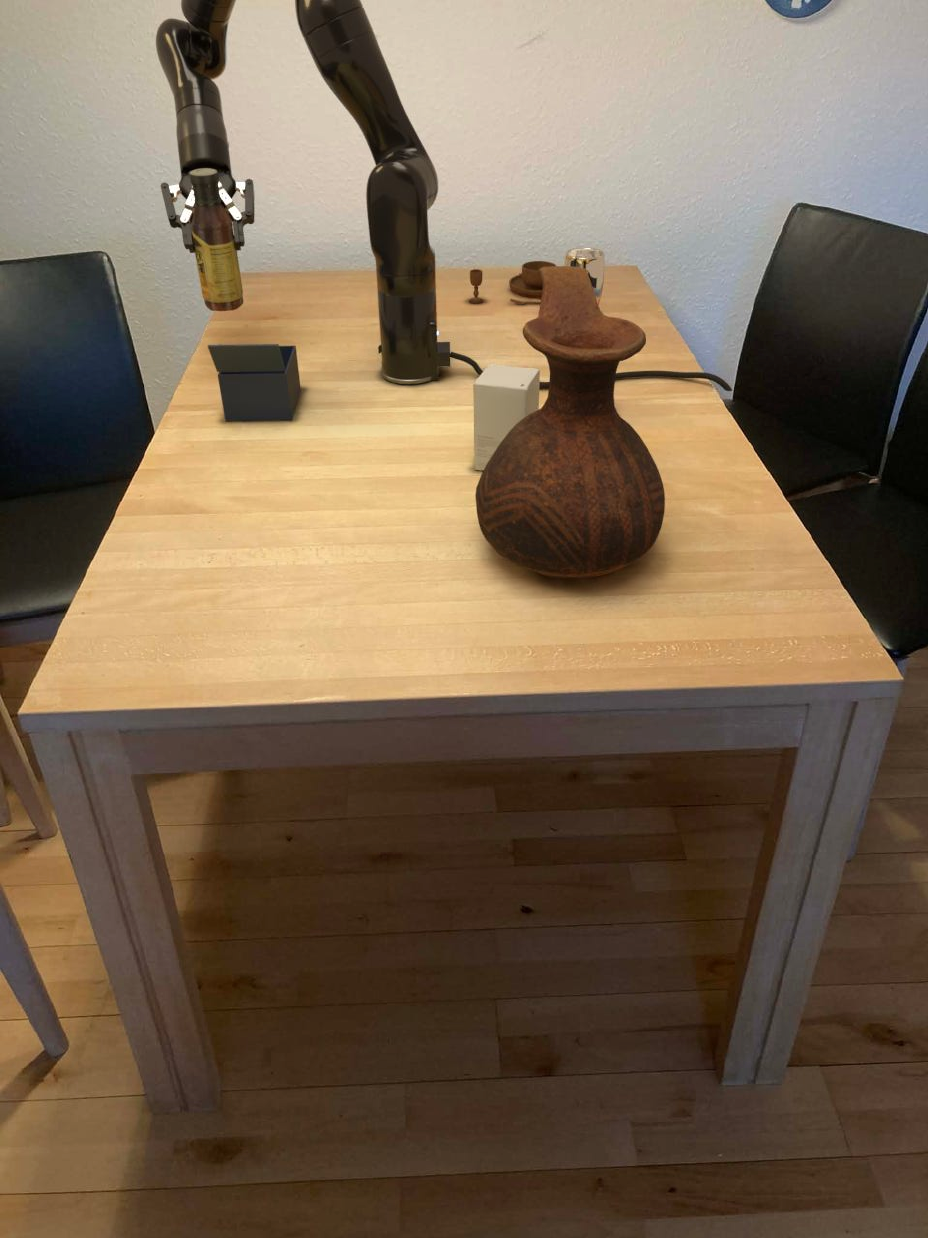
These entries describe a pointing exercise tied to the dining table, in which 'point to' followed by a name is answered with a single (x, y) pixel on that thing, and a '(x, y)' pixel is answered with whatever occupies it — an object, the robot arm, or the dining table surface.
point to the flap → (247, 357)
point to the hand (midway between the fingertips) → (215, 248)
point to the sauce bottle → (214, 244)
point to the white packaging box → (501, 406)
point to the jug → (573, 449)
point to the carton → (262, 391)
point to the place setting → (517, 281)
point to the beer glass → (589, 266)
